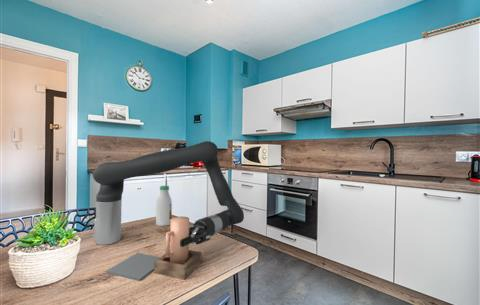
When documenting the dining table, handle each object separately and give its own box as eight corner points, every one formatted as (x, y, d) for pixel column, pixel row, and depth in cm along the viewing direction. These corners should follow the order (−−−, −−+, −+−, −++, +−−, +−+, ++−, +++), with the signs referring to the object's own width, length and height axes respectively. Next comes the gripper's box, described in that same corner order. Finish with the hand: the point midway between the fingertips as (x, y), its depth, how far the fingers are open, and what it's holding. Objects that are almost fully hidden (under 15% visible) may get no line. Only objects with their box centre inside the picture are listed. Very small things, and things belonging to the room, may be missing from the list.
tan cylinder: (179, 260, 76) (180, 215, 76) (192, 266, 72) (193, 218, 72) (159, 271, 69) (160, 221, 69) (172, 278, 65) (173, 225, 65)
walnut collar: (154, 272, 68) (154, 261, 68) (174, 256, 78) (174, 247, 78) (184, 279, 65) (184, 268, 65) (201, 262, 75) (202, 252, 75)
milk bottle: (166, 227, 109) (167, 187, 109) (152, 225, 111) (153, 186, 111) (174, 222, 117) (174, 185, 117) (161, 221, 118) (161, 184, 118)
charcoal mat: (106, 272, 67) (106, 270, 67) (137, 254, 80) (137, 252, 80) (139, 281, 63) (139, 279, 63) (167, 260, 76) (167, 258, 76)
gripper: (195, 213, 87) (159, 225, 73) (223, 220, 80) (190, 234, 65) (194, 232, 87) (159, 247, 73) (223, 240, 80) (189, 259, 65)
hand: (174, 241), depth 69 cm, fingers closed on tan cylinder, 6 cm apart
